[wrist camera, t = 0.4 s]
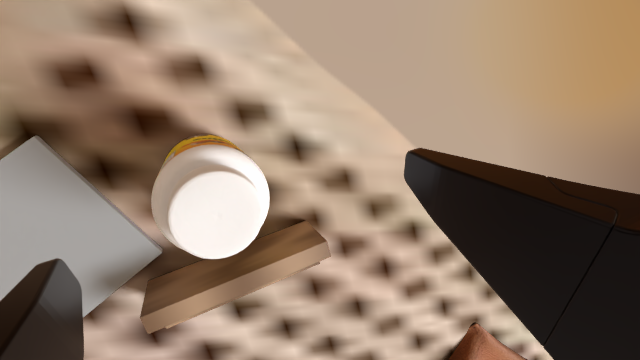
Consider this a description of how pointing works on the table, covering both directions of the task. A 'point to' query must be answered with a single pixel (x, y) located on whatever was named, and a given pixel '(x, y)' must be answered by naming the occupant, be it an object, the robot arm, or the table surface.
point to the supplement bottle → (209, 197)
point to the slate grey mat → (64, 225)
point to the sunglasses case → (482, 347)
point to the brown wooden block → (230, 276)
